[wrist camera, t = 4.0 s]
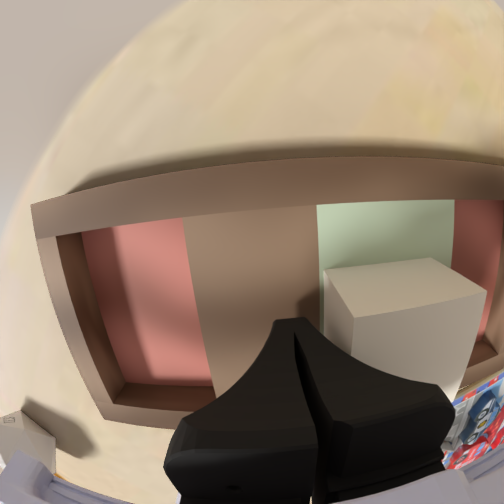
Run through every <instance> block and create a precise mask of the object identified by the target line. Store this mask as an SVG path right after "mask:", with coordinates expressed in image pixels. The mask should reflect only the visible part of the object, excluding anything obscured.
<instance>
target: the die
mask: <svg viewBox="0 0 504 504" xmlns="http://www.w3.org/2000/svg"><path fill="white" fill-rule="evenodd" d="M17 450H20V451H22V452H24V453H26V454H28V455H30V456H32V457H34V458H36V459H37V460H39V461H40V462H42V463H43V464H44V465H45V466H46V467H47V468H48V469H49V470H50V471H51V472H52V473H53V474H55V473H56V438H55V437H53V436H52V435H51V434H49V433H48V432H47V431H45V430H44V429H43V428H41V427H40V426H39V425H38V424H36V423H35V422H34V421H33V420H31V419H30V418H29V417H28V416H27V415H25V414H24V413H23V412H22V411H21V410H19V411H17V412H14V413H11V414H9V415H6V416H3V417H1V418H0V467H1V468H3V469H4V468H5V467H6V465H7V464H8V462H9V461H10V459H11V458H12V456H13V455H14V453H15V452H16V451H17Z"/></svg>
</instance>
